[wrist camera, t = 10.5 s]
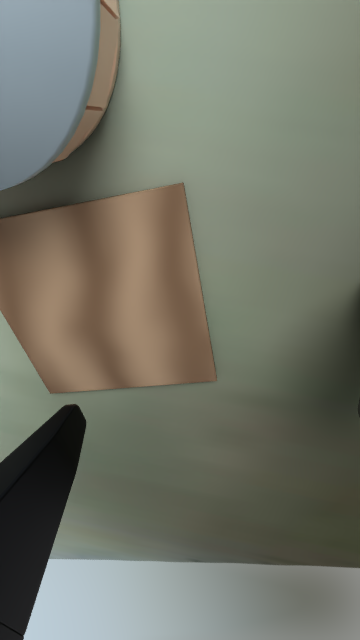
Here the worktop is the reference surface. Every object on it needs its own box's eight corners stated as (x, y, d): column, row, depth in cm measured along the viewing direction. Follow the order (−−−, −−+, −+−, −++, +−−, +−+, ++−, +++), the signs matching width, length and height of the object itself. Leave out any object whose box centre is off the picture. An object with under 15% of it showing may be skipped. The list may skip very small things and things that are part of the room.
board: (183, 182, 18) (182, 184, 18) (216, 376, 26) (216, 380, 26) (-44, 226, 21) (-49, 229, 20) (52, 389, 29) (50, 393, 29)
